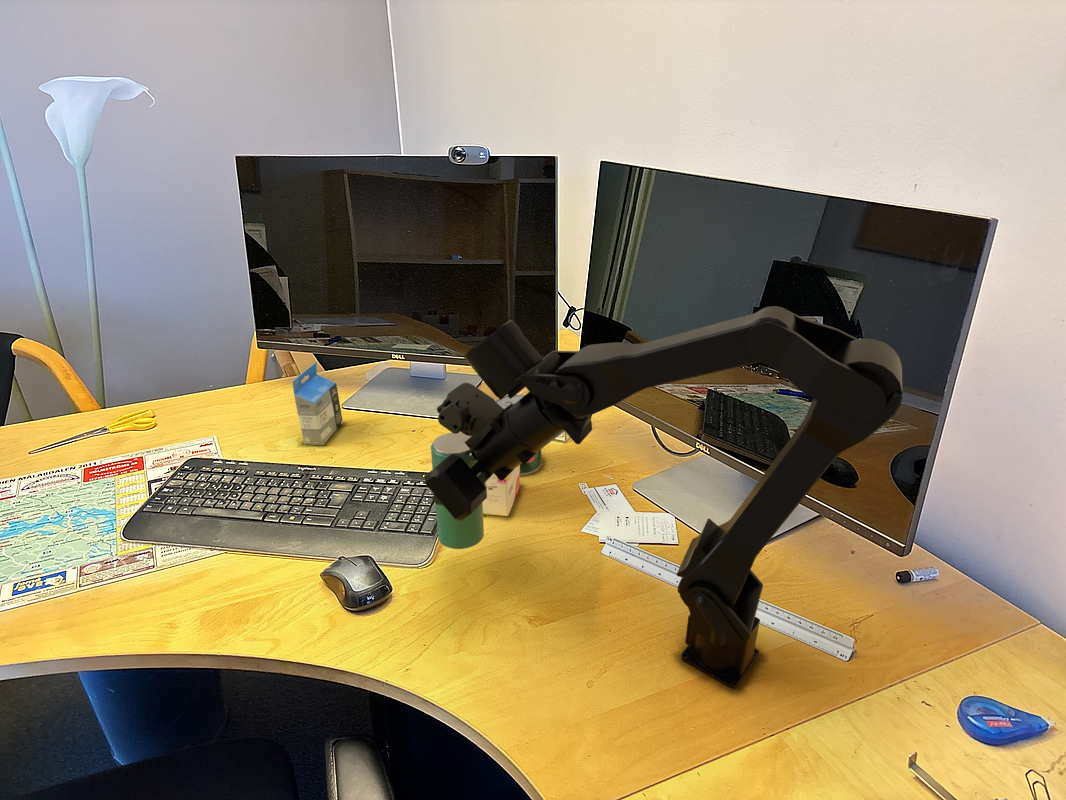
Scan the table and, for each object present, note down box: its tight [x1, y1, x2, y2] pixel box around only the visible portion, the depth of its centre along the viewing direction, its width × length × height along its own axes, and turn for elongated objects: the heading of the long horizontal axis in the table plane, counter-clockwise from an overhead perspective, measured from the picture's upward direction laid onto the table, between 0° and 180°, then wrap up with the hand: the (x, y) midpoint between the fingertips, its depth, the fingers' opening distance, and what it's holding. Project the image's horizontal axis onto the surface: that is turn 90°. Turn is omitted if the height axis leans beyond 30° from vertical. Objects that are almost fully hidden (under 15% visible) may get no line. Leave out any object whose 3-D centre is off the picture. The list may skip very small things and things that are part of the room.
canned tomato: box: [494, 394, 542, 477], centre depth 110 cm, size 8×8×11 cm
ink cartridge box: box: [482, 465, 521, 517], centre depth 100 cm, size 9×5×15 cm, turn 168°
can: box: [430, 432, 485, 550], centre depth 82 cm, size 6×6×13 cm
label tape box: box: [291, 361, 344, 446], centre depth 120 cm, size 9×4×12 cm, turn 171°
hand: (448, 488), depth 83 cm, fingers closed on can, 6 cm apart
